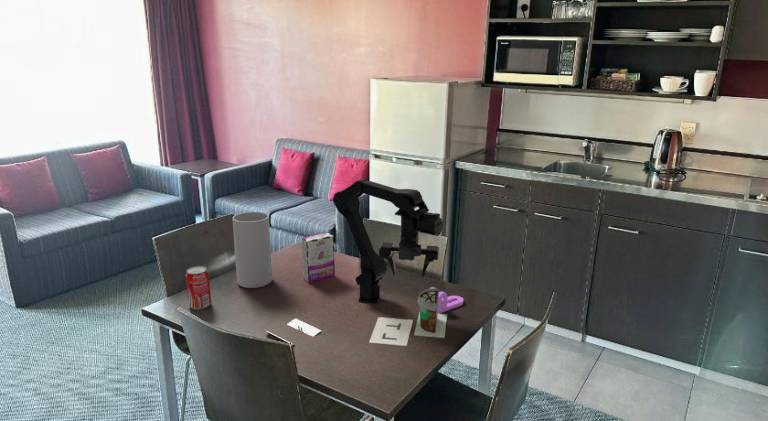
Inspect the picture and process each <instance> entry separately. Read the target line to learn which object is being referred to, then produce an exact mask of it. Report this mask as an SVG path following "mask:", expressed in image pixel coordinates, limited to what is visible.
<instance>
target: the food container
mask: <svg viewBox="0 0 768 421" xmlns="http://www.w3.org/2000/svg"><path fill="white" fill-rule="evenodd" d="M439 290H440V289H439V288H437V287H434V288H432V289H430V288H427V289H424V290H422V291H421V292H420V293H419V294H418V296H417V300H416V301H417V302H416V303H417V305H418V306H419V312H420V326H421V328H422V329H424V330H425V331H428V332H432V333H435V332H436V325H437V315H438V294H439V292H440V291H439Z"/></svg>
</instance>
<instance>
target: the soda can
mask: <svg viewBox="0 0 768 421" xmlns="http://www.w3.org/2000/svg"><path fill="white" fill-rule="evenodd" d="M185 282H186V292H187V301H188V306H189V308H190V309H191V310H195V311H200V310H204V309H207V308H209V307H210V306H211V304H212V296H211V286H210V276H209V271H208V270H207V267H205V266H204V265H203V266H202V265H198V266H191V267H189V268H188V269H186V274H185Z"/></svg>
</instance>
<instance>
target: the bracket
mask: <svg viewBox="0 0 768 421" xmlns="http://www.w3.org/2000/svg"><path fill="white" fill-rule="evenodd" d="M432 288H435V287H434V286H432V287H429V289H432ZM450 302H451V303H450ZM463 304H464V298H463V297H462V296H459V295H450V296H448V293H446V292H445V291H439V294H438V314H443V313H444V312H447V311H450V310H452V309H455V308H457V307H458V308H459V307H462V305H463Z"/></svg>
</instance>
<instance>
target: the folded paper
mask: <svg viewBox="0 0 768 421" xmlns="http://www.w3.org/2000/svg"><path fill="white" fill-rule="evenodd" d="M286 325H287V326H290V327H291V328H294V329H295V330H297V331H299V332H303V333H304V334H306V335H308V336H310V337H315V336H316V335H317V334H319V333H320V332H321V331H322V330H321V329H320V328H317V327H315V326H313V325H311V324H308V323H306V322H304V321H302V320H301V319H298V318H293V319H292V320H291V321H290V322H288V323H286ZM266 332H267V333H269V334H271V335H273V336H275V337H276V338H279V339H280V340H283V341H284V342H286V343H288V344H290V343H291V345H292V346H293V345H294V346H295V344H294V343H292V342H290V341H288V340H286V339H284V338H283V337H280V336H278V335H276V334H275V333H272V332H270V331H267V330H266Z"/></svg>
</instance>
